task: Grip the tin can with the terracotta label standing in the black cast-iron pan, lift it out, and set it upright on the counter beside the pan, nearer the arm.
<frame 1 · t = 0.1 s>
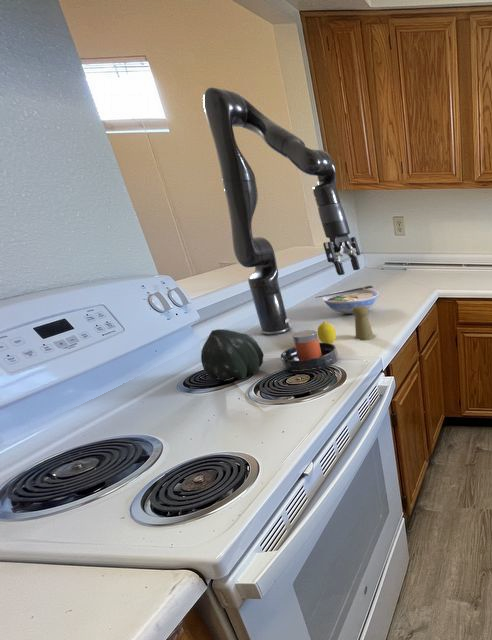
hand: (349, 272, 136), 22 cm above the countertop, tool pointing down, fingers open, 8 cm apart
olive flared column: (364, 337, 145), on the countertop
squash: (239, 376, 117), on the countertop
ramen bowl: (354, 312, 176), on the countertop
can: (311, 362, 124), resting on pan
lemon: (329, 345, 139), on the countertop
pan: (311, 363, 124), on the countertop
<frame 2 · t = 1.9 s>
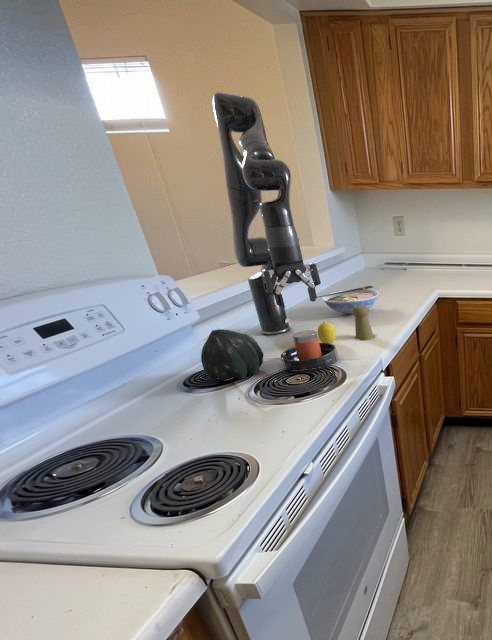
hand: (298, 304, 117), 18 cm above the countertop, tool pointing down, fingers open, 8 cm apart
nothing on the countertop moved.
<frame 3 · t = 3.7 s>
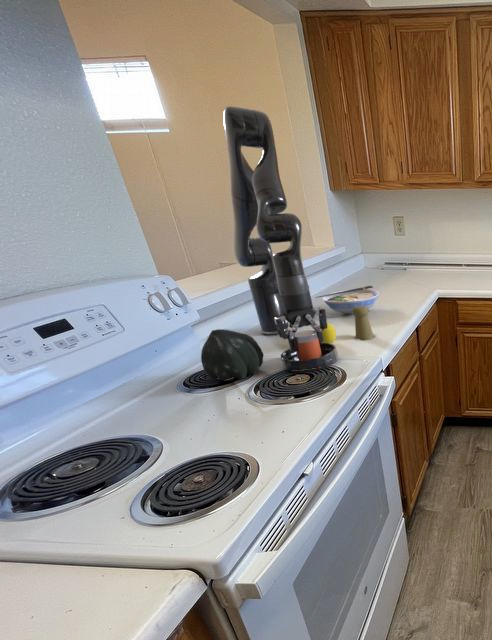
hand: (307, 347, 122), 5 cm above the countertop, tool pointing down, fingers closed on can, 6 cm apart
can: (311, 362, 124), point 1 cm above the countertop, touching gripper, pan
everything else where it was.
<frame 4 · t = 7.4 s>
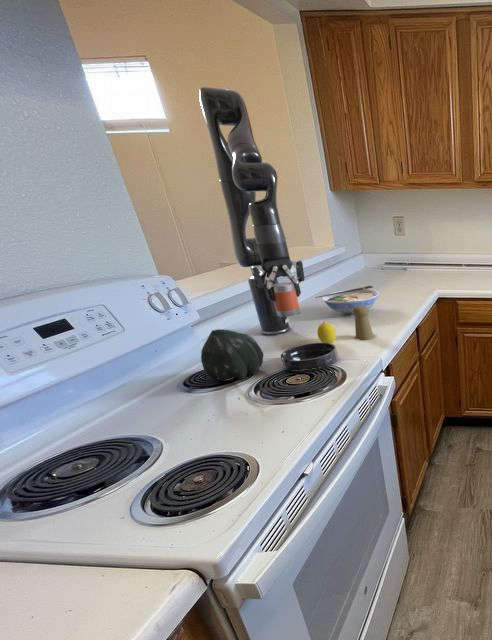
hand: (285, 298, 125), 18 cm above the countertop, tool pointing down, fingers closed on can, 6 cm apart
can: (289, 313, 127), point 13 cm above the countertop, touching gripper
everything else where it was.
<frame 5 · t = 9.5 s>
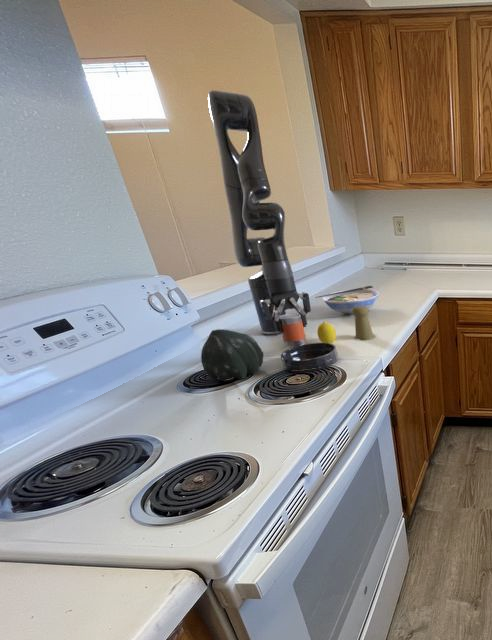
hand: (292, 329, 130), 8 cm above the countertop, tool pointing down, fingers closed on can, 6 cm apart
can: (296, 343, 132), point 3 cm above the countertop, touching gripper
everything else where it was.
when the fingers open (5 cm above the countertop, at t = 11.0 s): can stays where it is, on the countertop.
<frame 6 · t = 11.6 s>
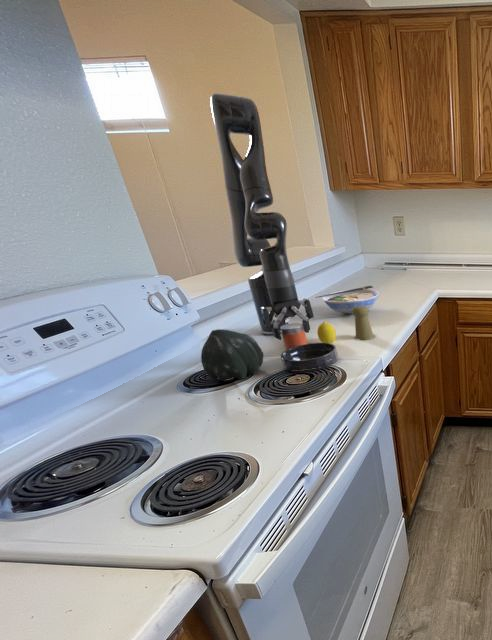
hand: (293, 335, 131), 6 cm above the countertop, tool pointing down, fingers open, 8 cm apart
can: (298, 352, 133), on the countertop
everything else where it was.
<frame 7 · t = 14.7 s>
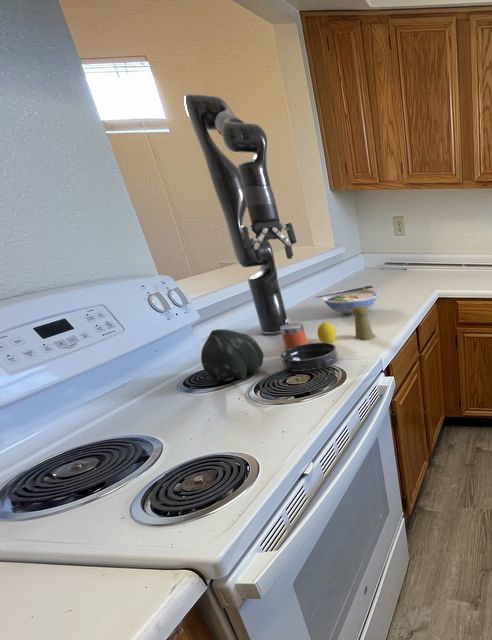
hand: (275, 260, 127), 28 cm above the countertop, tool pointing down, fingers open, 8 cm apart
nothing on the countertop moved.
at the end: can inside the target area (0.1 cm from its centre), on the countertop; can tilted 0°; can touching countertop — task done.
